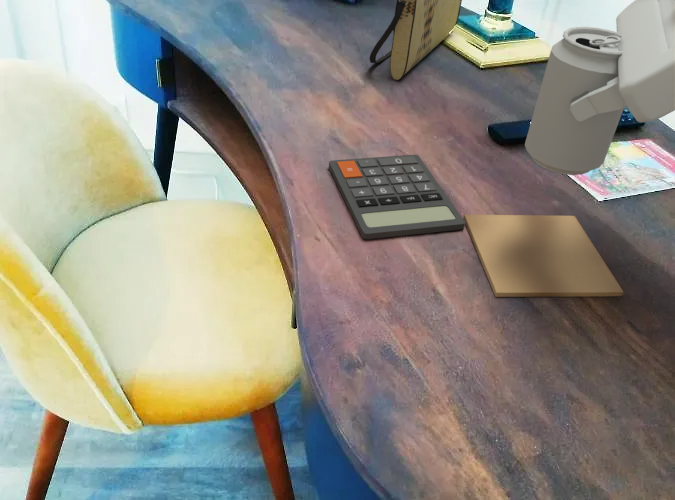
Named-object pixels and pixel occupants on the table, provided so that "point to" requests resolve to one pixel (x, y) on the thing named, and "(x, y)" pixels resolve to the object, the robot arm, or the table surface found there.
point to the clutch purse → (416, 32)
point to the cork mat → (539, 256)
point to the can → (555, 98)
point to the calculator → (394, 196)
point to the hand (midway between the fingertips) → (575, 92)
